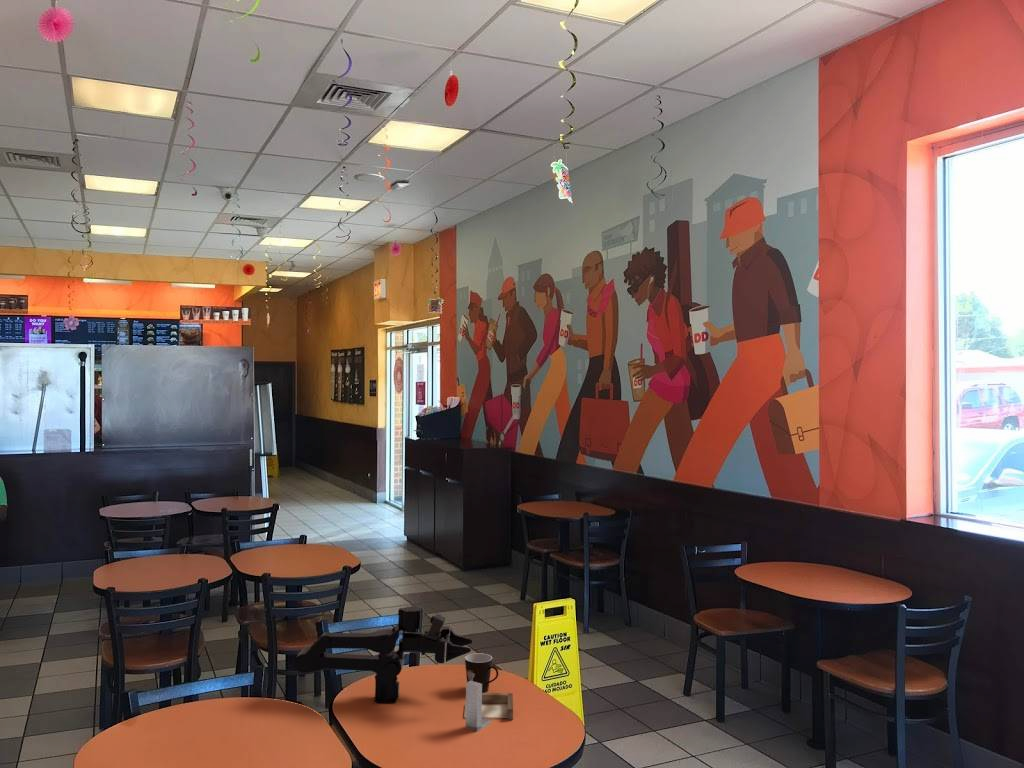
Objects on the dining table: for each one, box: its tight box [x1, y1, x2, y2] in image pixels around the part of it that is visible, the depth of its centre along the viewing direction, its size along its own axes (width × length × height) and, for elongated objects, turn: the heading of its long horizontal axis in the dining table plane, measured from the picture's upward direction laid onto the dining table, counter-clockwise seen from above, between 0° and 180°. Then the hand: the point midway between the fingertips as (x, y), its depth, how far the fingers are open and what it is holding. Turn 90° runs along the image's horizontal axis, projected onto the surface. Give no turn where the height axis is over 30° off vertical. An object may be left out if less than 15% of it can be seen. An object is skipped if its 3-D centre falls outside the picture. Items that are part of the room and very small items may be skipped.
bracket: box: [465, 681, 491, 732], centre depth 223 cm, size 4×6×12 cm, turn 144°
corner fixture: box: [463, 692, 514, 721], centre depth 233 cm, size 14×12×3 cm
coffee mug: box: [464, 652, 499, 693], centre depth 248 cm, size 12×9×10 cm
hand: (471, 645), depth 241 cm, fingers open, 9 cm apart
